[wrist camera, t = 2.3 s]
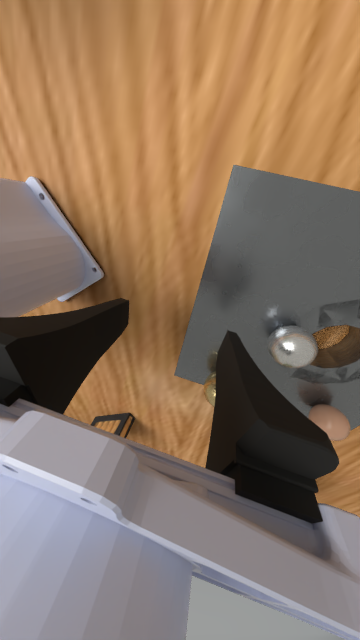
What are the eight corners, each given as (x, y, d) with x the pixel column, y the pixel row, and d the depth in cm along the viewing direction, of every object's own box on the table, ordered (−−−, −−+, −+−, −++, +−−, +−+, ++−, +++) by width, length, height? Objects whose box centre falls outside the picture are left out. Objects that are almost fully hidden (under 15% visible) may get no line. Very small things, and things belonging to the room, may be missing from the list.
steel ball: (259, 324, 14) (266, 349, 11) (303, 312, 13) (323, 337, 10) (269, 352, 15) (278, 380, 13) (310, 343, 14) (330, 373, 11)
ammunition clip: (130, 412, 33) (88, 498, 23) (135, 418, 33) (97, 504, 23) (95, 416, 37) (47, 490, 27) (100, 421, 38) (56, 494, 28)
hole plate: (179, 360, 22) (174, 375, 20) (232, 174, 12) (233, 164, 9) (335, 410, 20) (347, 432, 18) (561, 246, 10) (651, 254, 8)
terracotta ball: (301, 399, 17) (313, 429, 15) (337, 396, 16) (357, 428, 14) (306, 416, 19) (319, 447, 16) (340, 414, 17) (359, 447, 15)
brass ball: (200, 366, 18) (195, 395, 15) (232, 359, 17) (234, 390, 14) (213, 388, 20) (210, 418, 17) (244, 383, 18) (248, 416, 15)
